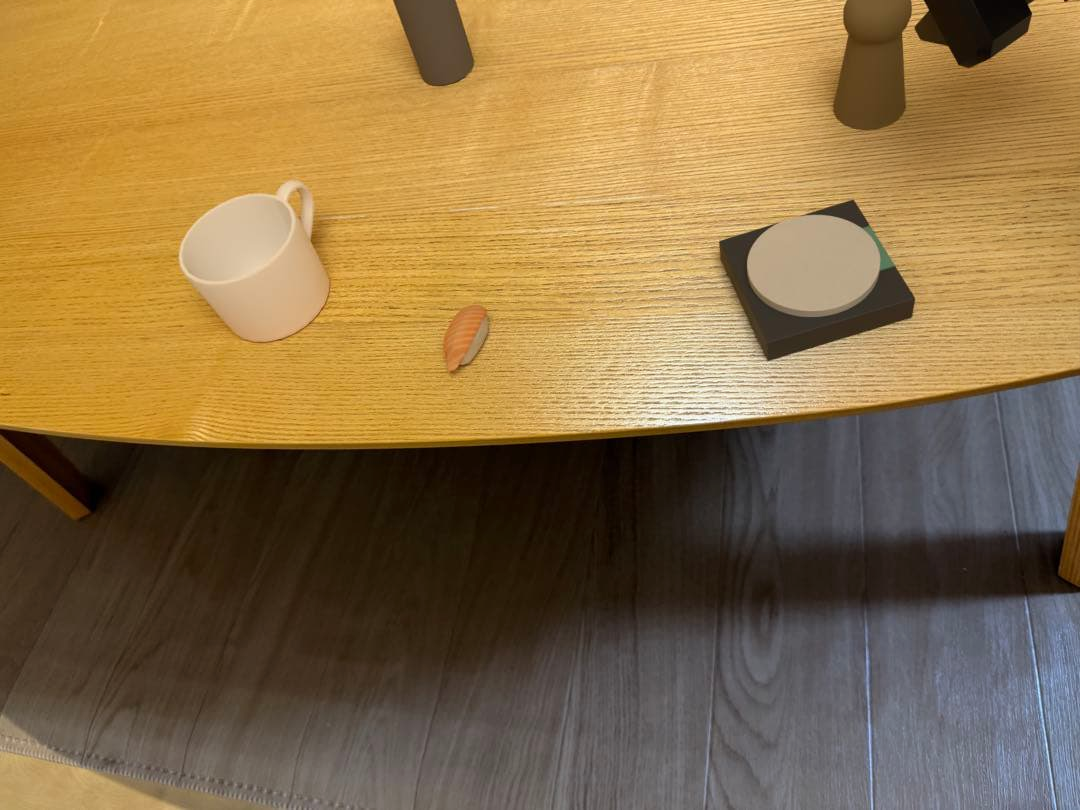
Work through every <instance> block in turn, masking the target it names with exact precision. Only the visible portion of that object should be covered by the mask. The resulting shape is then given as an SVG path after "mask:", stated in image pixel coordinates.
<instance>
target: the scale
mask: <svg viewBox="0 0 1080 810" xmlns="http://www.w3.org/2000/svg"><path fill="white" fill-rule="evenodd" d="M718 245H719V258H720V262H721V264H722V266H723V268H724V270H725V272H726V275H727V277H728V279H729V281H730V283H731V286H732V287H733V289H734V291H735V294H736V296H737V299H738V300H739V303H740V305H741V307H742V309H743V311H744V313H745V315H746V317H747V320H748V321H749V324H750V327H751V328H752V330H753V332H754V334H755V337H756V339H757V341H758V343H759V345H760V347H761V350H762V352H763V354H764V356H765V358H766V360H767V362H769V361H773V360H777V359H780V358H782V357H785V356H789V355H793V354H796V353H799V352H803V351H806V350H809V349H813V348H815V347H818V346H822V345H826V344H828V343H833V342H836V341H839V340H842V339H845V338H848V337H852V336H855V335H858V334H862V333H865V332H868V331H872V330H875V329H879V328H883V327H885V326H888V325H892V324H895V323H899V322H902V321H906V320H908V319H911V318H913V315H914V309H915V303H916V297H915V296H914V294H913V292H912V291H911V289H910V287H909V285H908V284H907V282H906V281H905V279H904V278H903V276H902V275H901V272H900V271H899V270H898V268H897V266H896V264H895V263H894V262H893V260H892V259H891V257H890V255H889V254H888V252H887V250H886V249H885V247H884V246H883V244H882V242H881V241H880V239H879V238H878V236H877V235H876V233H875V231H874V229H873V228H872V226H871V225H870V223H869V222H868V220H867V218H866V217H865V215H864V214H863V212H862V210H861V209H860V207H859V206H858V204H857V203H856V201H855V199H854V198H853V199H850V200H846V201H844V202H843V201H842V202H841V203H838V204H834V205H829V206H828V207H824V208H821V209H818V210H815V211H812V212H808V213H805V214H802V215H799V216H796V217H791V218H788V219H784V220H783V221H779V222H775V223H773V224H770V225H767V226H763V227H759V228H756V229H754V230H749V231H746V232H743V233H741V234H737V235H734V236H731V237H727V238H724V239H721V240H719V241H718Z"/></svg>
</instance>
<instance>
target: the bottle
mask: <svg viewBox="0 0 1080 810" xmlns="http://www.w3.org/2000/svg"><path fill="white" fill-rule="evenodd" d="M392 1H393V4H394V7H395V9H396V12H397V15H398V18H399V20H400V24H401V25H402V29H403V31H404V34H405V36H406V39H407V42H408V44H409V47H410V50H411V52H412V55H413V58H414V60H415V64H416V66H417V69H418V71H419V73H420V76H421V78H422V80H423V81H424V82H425V83H427V84H429V85H431V86H447V85H451V84H454V83H457V82H458V81H460V80H462V79H464V78H465V77H466V76H468V75H469V74H470V72H471V71H472V69H473V68H474V66H475V65H474V64H475V60H474V59H475V58H474V56H473V52H472V48H471V46H470V43H469V39H468V35H467V32H466V28H465V25H464V22H463V19H462V16H461V14H460V10H459V7H458V4H457V0H392Z"/></svg>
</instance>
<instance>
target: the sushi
mask: <svg viewBox="0 0 1080 810" xmlns="http://www.w3.org/2000/svg"><path fill="white" fill-rule="evenodd" d="M488 333H489V320H488V316H487V308H486V307H484V306H483V305H480V304H471V305H469V306H465V307H463V308H462V309H460V310H459V311H458V312H457V313H456V315H455V316H454V317H453V319H452V320H451V321H450V323H449V326H448V327H447V329H446V332H445V334H444V338H443V344H442V345H443V351H444V356H445V358H446V367H447V370H448V371H451V372H454V371H456V370H457V369H458V367H459V366H461V365H462V366H464V365H468V364H471V362H472V361H473V359H475V358H476V356H477V354H478V352H479V350H480V349H481V347H482V346H483V343H484V342H485V340H486V337H487V336H488Z"/></svg>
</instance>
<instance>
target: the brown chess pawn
mask: <svg viewBox="0 0 1080 810" xmlns="http://www.w3.org/2000/svg"><path fill="white" fill-rule="evenodd" d="M842 9H843V10H842V11H843V12H842V22H843V27H844V29H845V31H846V33H847V34H848V35H847V39H846V44H845V49H844V54H843V59H842V63H841V68H840V73H839V78H838V82H837V87H836V91H835V95H834V101H833V114H834V115H835V118H836V120H838V121H839V122H840V123H842V125H845V126H847V127H849V128H852V129H858V130H877V129H881V128H885V127H888V126H890V125H891V124H893V123H895V122H897V121H898V120H899V119H900V118H901V117H902V116H903V115H904V112H905V111H906V109H907V107H906V106H907V105H906V104H907V103H906V87H905V85H906V83H905V66H904V65H905V63H904V60H905V59H904V42H903V39H904V37H903V32H904V31H905V30H906V29H907V27H908V25H909V23H910V20H911V18H912V12H913V3H912V0H846V1H845V3H844V6H843V8H842Z"/></svg>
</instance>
